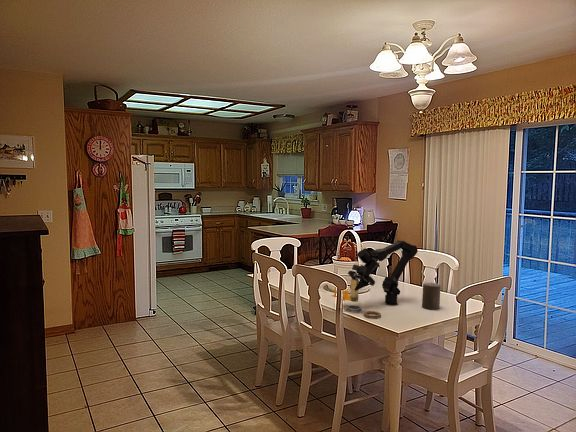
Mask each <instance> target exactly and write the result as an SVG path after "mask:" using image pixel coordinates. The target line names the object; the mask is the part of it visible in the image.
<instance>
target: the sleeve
mask: <svg viewBox="0 0 576 432" xmlns="http://www.w3.org/2000/svg"><path fill="white" fill-rule="evenodd" d="M359 282H360V279H352V278H351V279H350V284H351V289H350V294H349V295H350V300H349V301H350V302H353V303H358V302H359V290H357V291H355V288H356V286H357V285H358V283H359Z"/></svg>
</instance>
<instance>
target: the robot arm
mask: <svg viewBox="0 0 576 432" xmlns="http://www.w3.org/2000/svg"><path fill="white" fill-rule="evenodd" d="M399 250H401V257H400V259H399V260H398V261H397V264H396V265H395V267H394V269H393V271H392V273H391V274H390V275H389V276H385V277H384V280H382V290H383V292H384V293H385V296H384V297H385V298H384V303H385V305H389V306H398V304H399V303H398V296H400V294H401V290H400V289H399V288H398V286H399V280H400V277H401V276H402V274H403V272H404V270H405V268H406V267H407V265H408V263H409V261H410V260H411V259H413V258H414V257H415V256H416V255H417V254H418V252H419V250H418V247H417V245H413V244H410V243H408V242H407V241H405V240H401V239H399V240H397V241H395V242H394V243H391V244H389V245H387V246H385V247H383V248H377V249H373V250H372V251H371V252H370V251H369V249H368V248H366V247H364V248H363V249H361V250H360V251H358V252H357V254H356V255H357V258H358V259H359V260H360V261H361V262H362V263H363V264H360V265H358V264H355V263H354V264H353V265H352V268H351V270H349V271H347V275H349V277H350V278H351V279H358V280H359V283H358V285H357V286H356V288H355V291H357V290H358V291H359V290H360V289H361V290H362V288H366V287H368V286H369V285H370V286H371V287H374V285H375V284H376V281H375V279H374V278H373V277H372V275H373V271H374V270H375V269H376V268H380V267H381V266H380V262H383V261H384V260H386V259H387V257H389V255H391V254H393V253H395V252H397V251H399ZM349 289H350V290H351V283H350V284H349Z"/></svg>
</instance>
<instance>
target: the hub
mask: <svg viewBox="0 0 576 432" xmlns="http://www.w3.org/2000/svg"><path fill="white" fill-rule="evenodd" d="M344 310H345V311H346V312H348V311H349V313H362V312H363V311H364V307H362V306H360V305H356V304H349V305H347V306H345V307H344Z"/></svg>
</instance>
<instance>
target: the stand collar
mask: <svg viewBox="0 0 576 432" xmlns="http://www.w3.org/2000/svg"><path fill="white" fill-rule="evenodd" d="M363 315H364V318H367V319H371V320H372V319H373V320H375V319H381V318H382V313H381V312H379V311H375V310H367V311H364V313H363Z"/></svg>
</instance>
